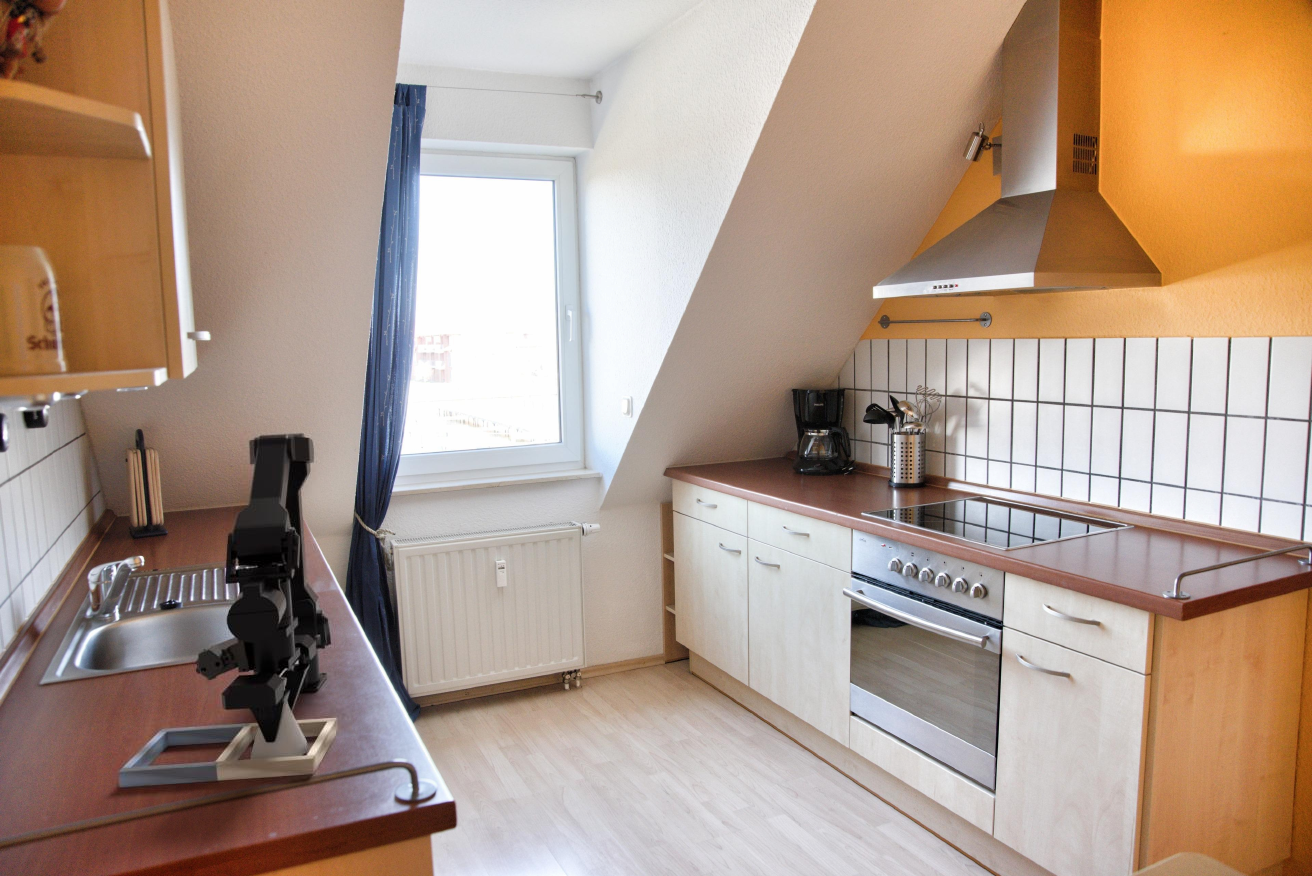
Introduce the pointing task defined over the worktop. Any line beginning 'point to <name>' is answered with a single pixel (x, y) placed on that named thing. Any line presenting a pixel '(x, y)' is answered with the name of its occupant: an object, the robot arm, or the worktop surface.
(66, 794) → the worktop surface
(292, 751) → the flask
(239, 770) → the caddy
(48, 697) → the worktop surface
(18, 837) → the worktop surface
